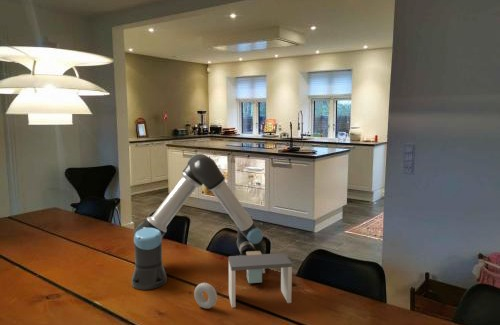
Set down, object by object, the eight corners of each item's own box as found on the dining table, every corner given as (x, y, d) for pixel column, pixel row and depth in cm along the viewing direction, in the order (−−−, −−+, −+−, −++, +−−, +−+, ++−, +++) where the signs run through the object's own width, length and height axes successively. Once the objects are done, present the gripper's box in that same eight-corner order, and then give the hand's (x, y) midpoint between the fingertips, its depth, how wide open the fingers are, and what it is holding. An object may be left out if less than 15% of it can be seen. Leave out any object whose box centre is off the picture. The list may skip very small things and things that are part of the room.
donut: (218, 308, 139) (218, 284, 138) (214, 313, 136) (213, 287, 135) (197, 302, 144) (197, 278, 143) (192, 306, 141) (192, 282, 140)
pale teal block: (248, 283, 159) (248, 256, 157) (246, 277, 165) (246, 251, 163) (262, 282, 160) (262, 256, 158) (259, 276, 166) (259, 250, 165)
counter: (231, 307, 140) (231, 267, 138) (228, 294, 151) (228, 256, 149) (291, 302, 144) (292, 263, 142) (284, 289, 155) (284, 253, 153)
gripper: (266, 257, 181) (277, 277, 159) (228, 259, 178) (234, 280, 155) (266, 243, 180) (277, 261, 158) (228, 245, 177) (234, 263, 154)
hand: (256, 270), depth 157 cm, fingers closed on pale teal block, 6 cm apart
